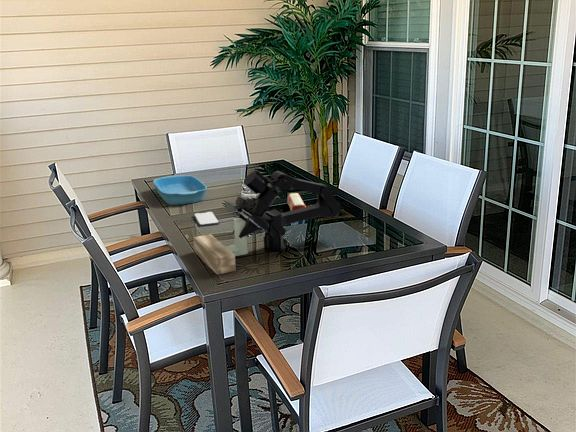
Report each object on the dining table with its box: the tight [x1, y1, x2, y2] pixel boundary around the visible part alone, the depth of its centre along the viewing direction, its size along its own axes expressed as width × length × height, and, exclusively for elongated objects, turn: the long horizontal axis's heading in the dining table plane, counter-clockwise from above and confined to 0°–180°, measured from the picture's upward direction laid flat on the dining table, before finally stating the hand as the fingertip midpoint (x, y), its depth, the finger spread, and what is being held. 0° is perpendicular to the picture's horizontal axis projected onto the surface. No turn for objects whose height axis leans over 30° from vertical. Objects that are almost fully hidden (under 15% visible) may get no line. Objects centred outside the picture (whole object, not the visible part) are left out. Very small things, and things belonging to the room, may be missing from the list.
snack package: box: [286, 192, 307, 211], centre depth 258 cm, size 21×7×7 cm, turn 6°
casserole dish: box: [152, 174, 208, 206], centre depth 285 cm, size 37×22×7 cm, turn 24°
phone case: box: [193, 211, 220, 228], centre depth 249 cm, size 9×2×16 cm
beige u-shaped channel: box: [192, 233, 237, 275], centre depth 204 cm, size 7×24×6 cm, turn 27°
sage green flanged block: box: [224, 217, 249, 257], centre depth 206 cm, size 8×6×12 cm
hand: (236, 235), depth 206 cm, fingers closed on sage green flanged block, 5 cm apart
